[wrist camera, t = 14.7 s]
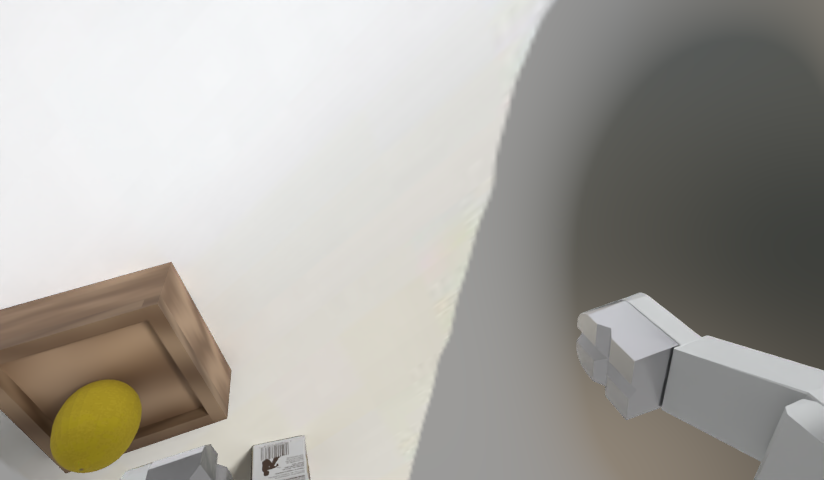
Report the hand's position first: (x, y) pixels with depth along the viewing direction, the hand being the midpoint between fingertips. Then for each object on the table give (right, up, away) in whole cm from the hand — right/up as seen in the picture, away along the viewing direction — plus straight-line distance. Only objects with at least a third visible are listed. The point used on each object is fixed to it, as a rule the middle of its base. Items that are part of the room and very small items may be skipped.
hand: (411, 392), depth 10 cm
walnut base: (-27, -6, +32) cm, 42 cm away
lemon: (-25, -9, +28) cm, 39 cm away
